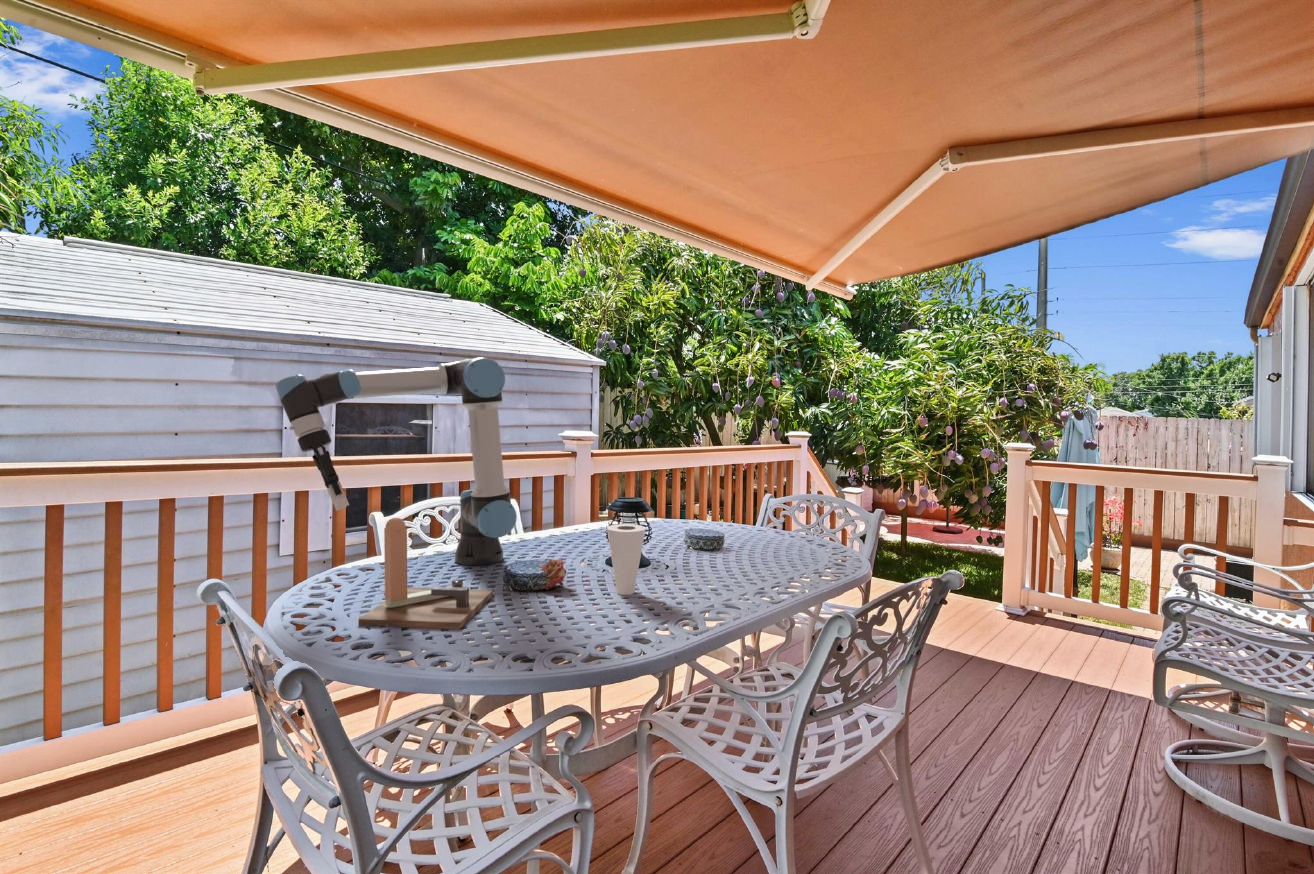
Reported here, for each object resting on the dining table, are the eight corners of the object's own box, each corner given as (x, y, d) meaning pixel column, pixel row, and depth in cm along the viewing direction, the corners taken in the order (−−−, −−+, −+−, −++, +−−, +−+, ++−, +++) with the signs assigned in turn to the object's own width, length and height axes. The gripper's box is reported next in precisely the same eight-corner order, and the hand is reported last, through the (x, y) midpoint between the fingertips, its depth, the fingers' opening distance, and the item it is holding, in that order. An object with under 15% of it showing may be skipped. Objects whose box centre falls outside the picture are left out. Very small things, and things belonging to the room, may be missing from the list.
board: (405, 592, 185) (405, 587, 185) (493, 595, 184) (493, 590, 184) (358, 625, 159) (358, 619, 159) (460, 629, 158) (459, 622, 158)
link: (461, 590, 182) (460, 508, 181) (469, 594, 179) (469, 511, 178) (383, 605, 169) (382, 517, 167) (390, 610, 165) (389, 520, 164)
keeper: (447, 592, 181) (447, 576, 180) (480, 593, 180) (480, 577, 180) (431, 606, 169) (431, 589, 169) (465, 607, 169) (465, 590, 168)
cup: (598, 592, 189) (598, 527, 187) (625, 584, 196) (626, 522, 195) (625, 600, 181) (626, 533, 180) (652, 592, 189) (653, 528, 188)
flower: (562, 574, 200) (546, 554, 197) (581, 574, 193) (565, 553, 191) (541, 598, 194) (525, 578, 191) (560, 599, 187) (544, 578, 185)
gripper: (297, 444, 190) (326, 514, 191) (295, 431, 168) (329, 511, 169) (325, 434, 193) (354, 504, 194) (327, 421, 171) (360, 500, 172)
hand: (342, 508), depth 181 cm, fingers open, 13 cm apart
